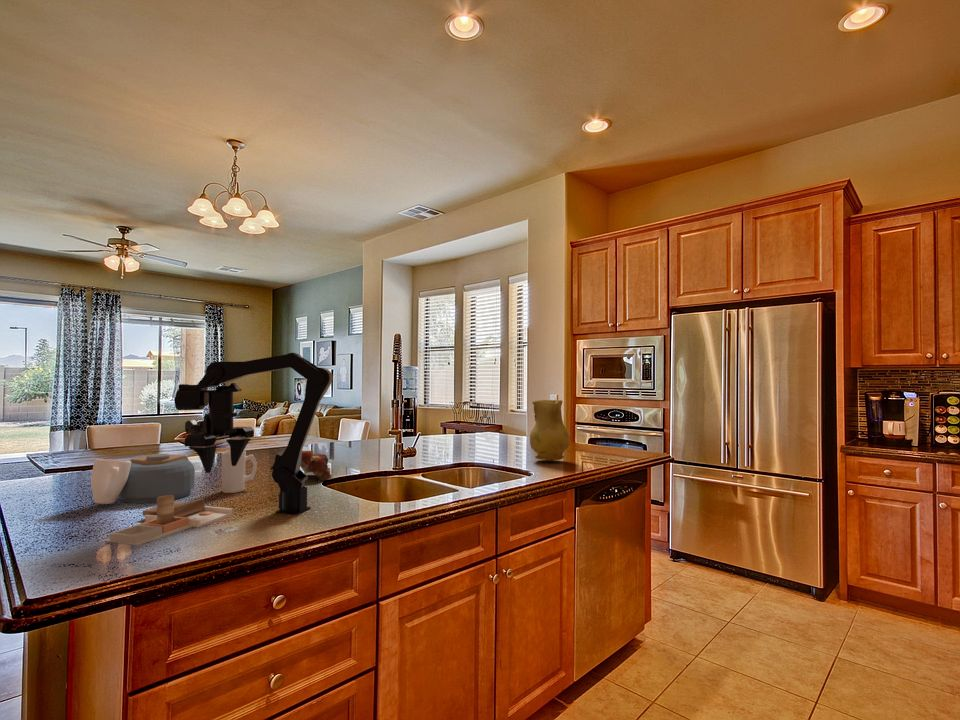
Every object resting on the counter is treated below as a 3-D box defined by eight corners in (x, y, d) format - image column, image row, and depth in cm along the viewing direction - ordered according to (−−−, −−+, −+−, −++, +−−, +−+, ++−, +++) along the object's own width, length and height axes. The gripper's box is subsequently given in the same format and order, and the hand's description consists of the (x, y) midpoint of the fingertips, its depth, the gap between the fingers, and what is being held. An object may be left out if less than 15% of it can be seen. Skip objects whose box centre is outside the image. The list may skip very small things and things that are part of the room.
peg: (177, 525, 118) (177, 495, 118) (164, 530, 115) (165, 499, 115) (165, 524, 119) (166, 494, 119) (152, 528, 116) (153, 498, 116)
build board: (192, 528, 119) (192, 518, 119) (137, 549, 105) (137, 537, 106) (162, 525, 121) (162, 515, 121) (105, 544, 108) (105, 533, 108)
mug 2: (221, 494, 152) (222, 454, 152) (220, 489, 157) (221, 451, 158) (257, 490, 156) (258, 452, 157) (255, 486, 162) (256, 449, 163)
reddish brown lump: (339, 479, 174) (339, 450, 174) (303, 484, 166) (303, 454, 166) (320, 471, 186) (321, 444, 186) (286, 476, 178) (286, 448, 178)
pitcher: (528, 460, 211) (528, 401, 211) (531, 453, 229) (531, 398, 229) (569, 462, 208) (570, 401, 208) (569, 454, 226) (569, 399, 227)
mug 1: (83, 500, 137) (93, 458, 139) (120, 501, 142) (129, 460, 144) (88, 506, 128) (98, 460, 130) (126, 506, 133) (136, 462, 136)
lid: (204, 509, 130) (204, 498, 130) (174, 518, 122) (175, 507, 122) (173, 506, 133) (174, 495, 133) (142, 515, 124) (142, 504, 124)
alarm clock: (193, 485, 163) (194, 448, 163) (195, 499, 146) (195, 457, 146) (121, 492, 153) (122, 452, 153) (113, 508, 136) (114, 463, 136)
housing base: (232, 516, 129) (232, 508, 129) (197, 529, 119) (197, 520, 119) (182, 511, 133) (182, 503, 134) (144, 523, 123) (144, 515, 123)
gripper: (221, 406, 143) (221, 461, 142) (165, 412, 124) (166, 475, 124) (255, 406, 140) (255, 462, 140) (203, 412, 122) (204, 477, 122)
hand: (221, 469), depth 131 cm, fingers open, 9 cm apart
